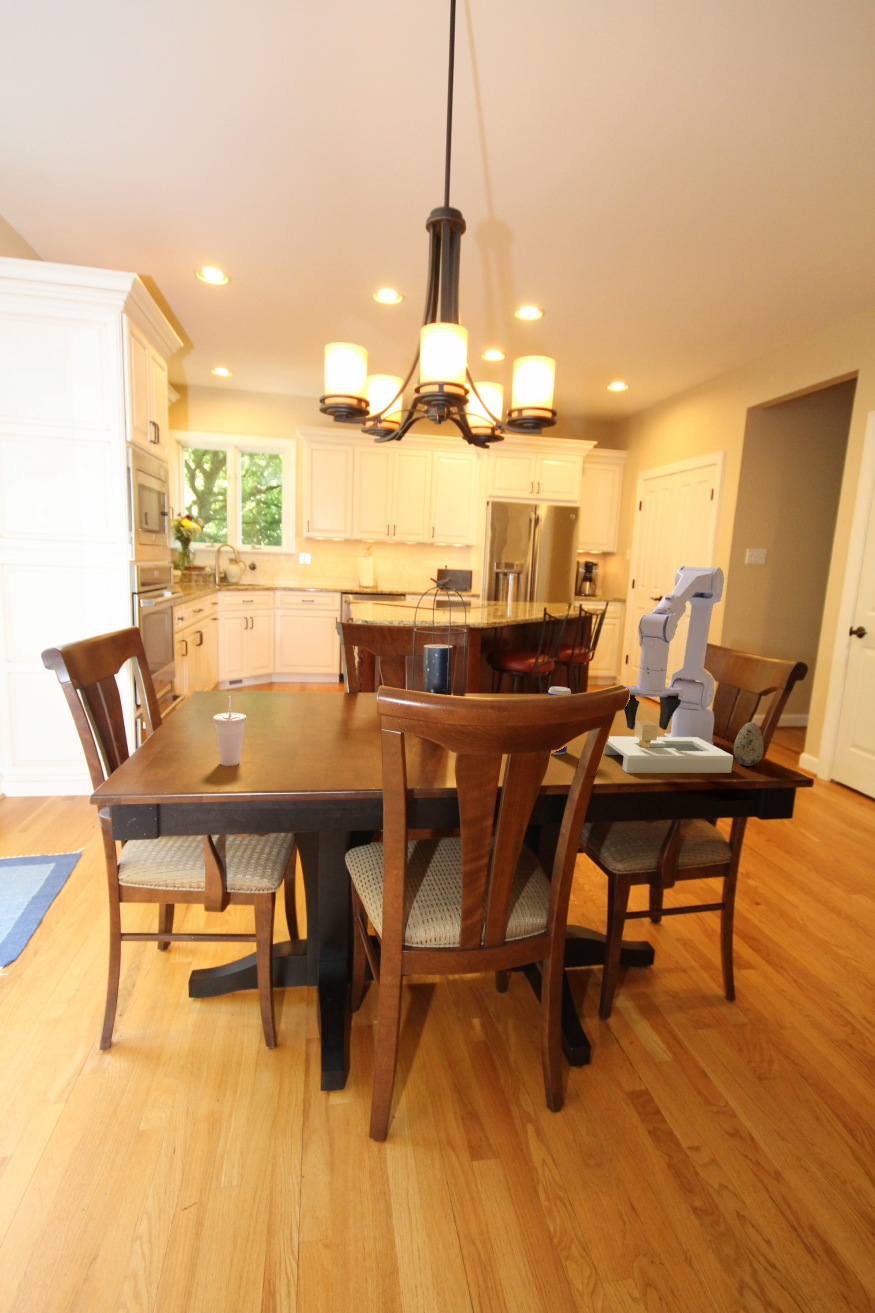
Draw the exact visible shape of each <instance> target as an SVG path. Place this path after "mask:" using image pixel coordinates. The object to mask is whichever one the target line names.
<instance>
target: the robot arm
mask: <svg viewBox="0 0 875 1313" xmlns="http://www.w3.org/2000/svg"><path fill="white" fill-rule="evenodd" d="M724 583H725V576H724V571H723V570H722V568H721V567H701V566H700V567H699V566H697V567H696V566H685V565H681V566H680V567H679V568H678V569H677V571H676V573H675V578H674V589H673V590H672V592H671V594H666V595H665V596H663V597H662V598H661V600H660V601H659V602H658V603H657V605H656V606H655V607H654V609H653V610H652V611H651V612H649V613H646V614H643V615H642V616H641V617H640V620H639V623H638V629H637V632H638V637H639V641H638V645H639V647H640V658H639V666H638V667H639V668H638V676H637V685H628V686H624V687H627V688H628V689H629V691H630V700H629V702H628V704H627V706H626V707H625V709H624V708H623V710H624V714H625V720H626V728H628V729H629V730H633V731H635V725H636V717H637V711H638V708H639V706H640V703H641V702H640V701H639V700H637V697H642V698H643V697H646V698H647V697H648V698H649V697H650V698H652V697H654V698H659V705H660V706H659V707H660V708H659V711H660V713H659V722H658V728H660V729H662V730H664V731H667V729H668V726H669V724H670V723H671V727H670V728H671V729H670V733H667V732H666V733H663V737H698V738H700V739H702V740H704V741H706V742H708V743H710V744H712V745H714V741H713V734H714V727H715V713H714V711H713V709H712V708H711V707H710V706H711V705H712V702H713V700H714V696H715V688H714V687H715V686H714V683H715V679H714V677H713V676H712V675H711V674H710V673H709V672H708V671H707V670H706V669H705V661H706V656H707V655H706V654H707V646H708V640H709V634H710V628H711V627H710V626H711V618H712V612H713V608H714V604H717V603H719V602H721V598H722V596H723V591H724V590H723V589H724ZM687 602H689V604H690V606H691V607H690V614H689V621H688V622H689V623H688V628H687V629H688V630H687V637H686V643H685V644H686V646H685V651H684V658H683V666H682V667H681V668H679V669H677V670H675V671H674V672H673V673H672V674H671V677H670V681H669V684H668V686H666V683H667V682H666V680H667V672H668V661H669V654H670V653H669V652H670V642H672V641H673V639H674V637H675V636H676V632H677V629H678V624H679V623H678V622H679V621H680V619H681V618H682V617H683V615H684V614H685V613H686V610H687V604H686V603H687ZM670 721H671V722H670Z"/></svg>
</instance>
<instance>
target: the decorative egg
mask: <svg viewBox="0 0 875 1313" xmlns="http://www.w3.org/2000/svg"><path fill="white" fill-rule="evenodd" d="M764 747H765V746H764V739H763V734H762V732H761V729H760V727H759V725H757V724H756V723H755V722H752V721H749V722H746V723H745V724H744V725H743V726H742V727H741V729H740V730H739V731H738V734H737V735H736V738H735V740H734V743H733V756H734V757H735V759H736V761H737V762H738V763H739V764H741V765H743V766H747V767H751V766H754V765H756V764H758V763H759V762H760V761H761V759H762V757H763V754H764Z"/></svg>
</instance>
